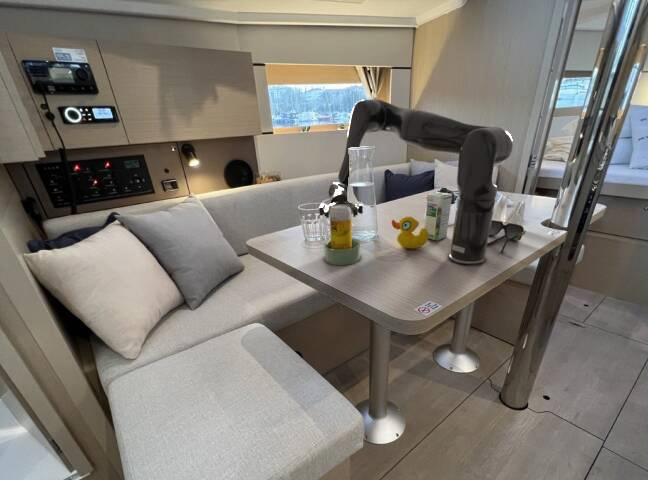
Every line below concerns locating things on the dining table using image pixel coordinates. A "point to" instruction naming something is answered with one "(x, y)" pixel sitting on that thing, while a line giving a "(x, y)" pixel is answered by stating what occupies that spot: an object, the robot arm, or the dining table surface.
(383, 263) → the dining table surface
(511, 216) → the shaker set
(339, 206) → the yellow bottle
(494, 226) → the sunglasses
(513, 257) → the dining table surface
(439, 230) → the syrup box
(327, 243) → the green round bowl
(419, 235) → the duckling
